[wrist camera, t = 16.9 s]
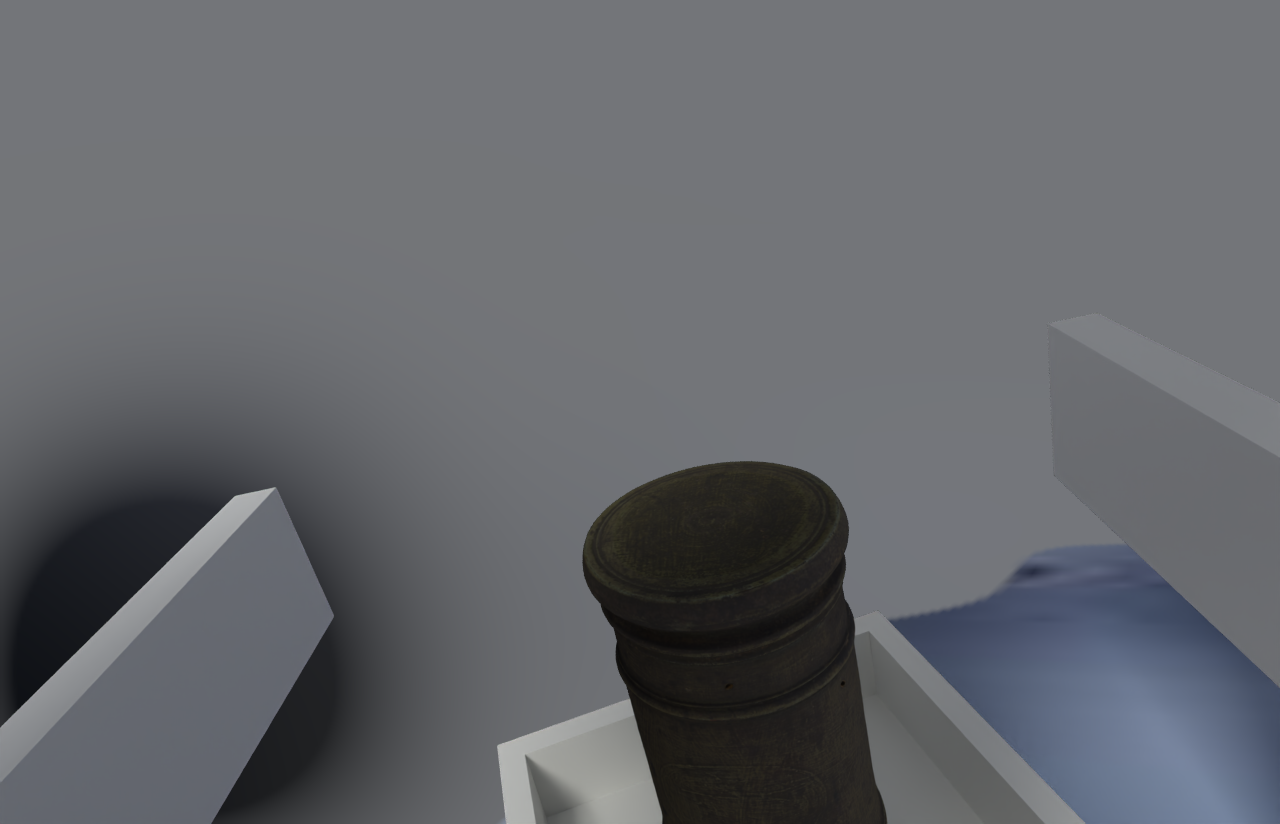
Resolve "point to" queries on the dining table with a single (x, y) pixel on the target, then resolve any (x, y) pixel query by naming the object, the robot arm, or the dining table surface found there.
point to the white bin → (898, 738)
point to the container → (738, 644)
